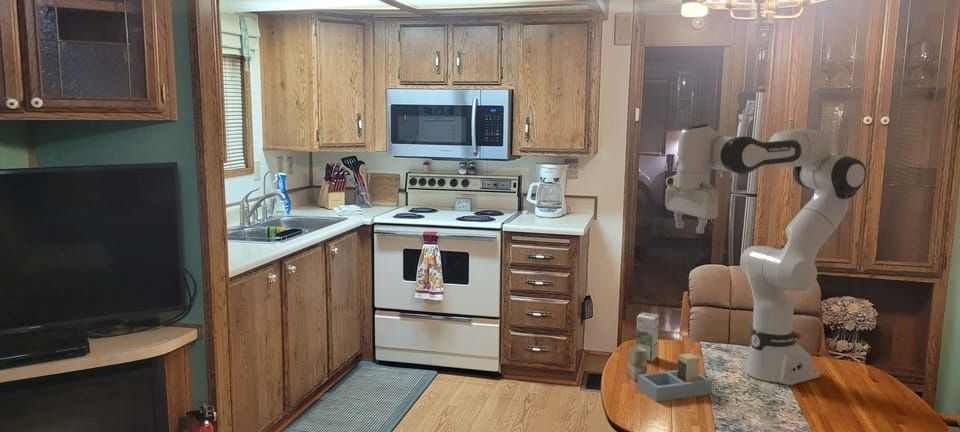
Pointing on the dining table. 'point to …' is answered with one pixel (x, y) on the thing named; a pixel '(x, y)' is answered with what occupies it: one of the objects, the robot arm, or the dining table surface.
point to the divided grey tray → (676, 381)
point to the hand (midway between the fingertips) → (689, 230)
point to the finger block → (636, 362)
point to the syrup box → (647, 334)
